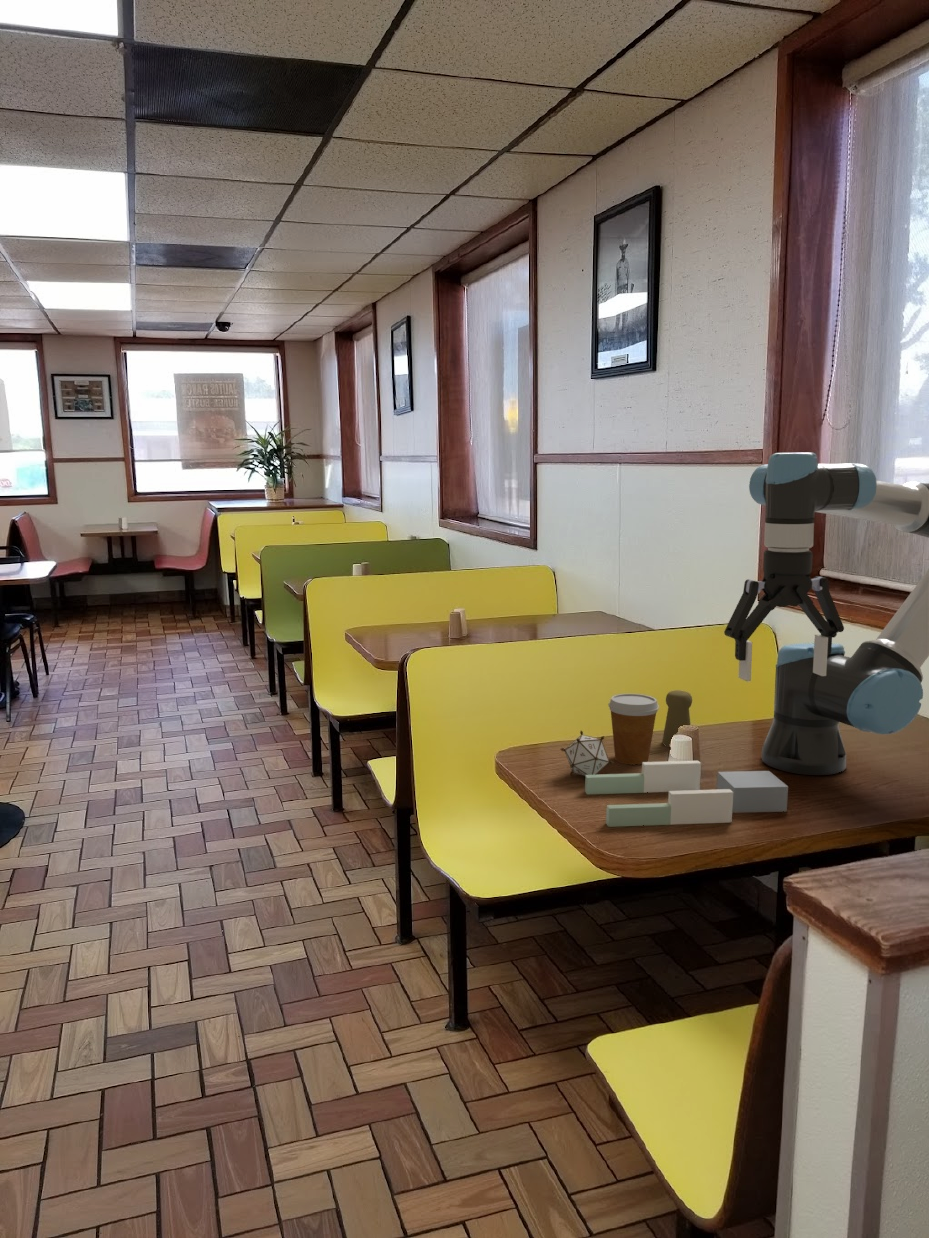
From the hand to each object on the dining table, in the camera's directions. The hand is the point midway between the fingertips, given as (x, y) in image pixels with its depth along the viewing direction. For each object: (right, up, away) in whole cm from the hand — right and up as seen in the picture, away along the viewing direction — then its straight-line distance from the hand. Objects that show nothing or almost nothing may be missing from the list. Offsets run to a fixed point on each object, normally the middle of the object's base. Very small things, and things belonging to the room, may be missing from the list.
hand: (782, 677), depth 154 cm
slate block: (-5, -22, +2) cm, 22 cm away
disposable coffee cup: (-21, -18, +25) cm, 37 cm away
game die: (-31, -19, +15) cm, 39 cm away
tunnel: (-21, -21, 0) cm, 30 cm away
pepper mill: (-10, -16, +35) cm, 39 cm away
